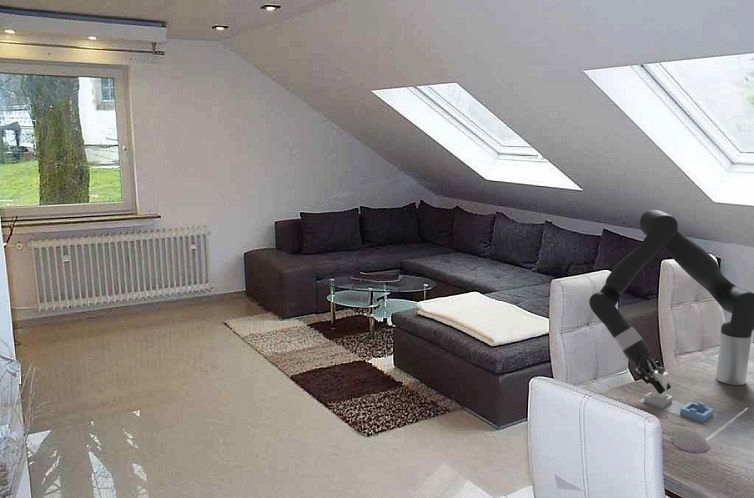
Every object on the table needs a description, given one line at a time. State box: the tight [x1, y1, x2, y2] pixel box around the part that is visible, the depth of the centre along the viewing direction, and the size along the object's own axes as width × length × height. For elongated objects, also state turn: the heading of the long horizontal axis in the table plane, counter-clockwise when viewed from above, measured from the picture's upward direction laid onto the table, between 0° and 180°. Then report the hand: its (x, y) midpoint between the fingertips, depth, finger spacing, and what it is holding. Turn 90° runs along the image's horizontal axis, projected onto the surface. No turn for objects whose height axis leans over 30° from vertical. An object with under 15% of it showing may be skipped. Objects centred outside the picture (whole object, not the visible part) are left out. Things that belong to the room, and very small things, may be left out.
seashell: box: [670, 426, 711, 454], centre depth 174 cm, size 10×6×10 cm
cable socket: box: [637, 391, 719, 425], centre depth 194 cm, size 21×9×4 cm, turn 41°
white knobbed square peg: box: [650, 366, 669, 401], centre depth 198 cm, size 3×3×12 cm
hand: (665, 390), depth 197 cm, fingers closed on white knobbed square peg, 3 cm apart
